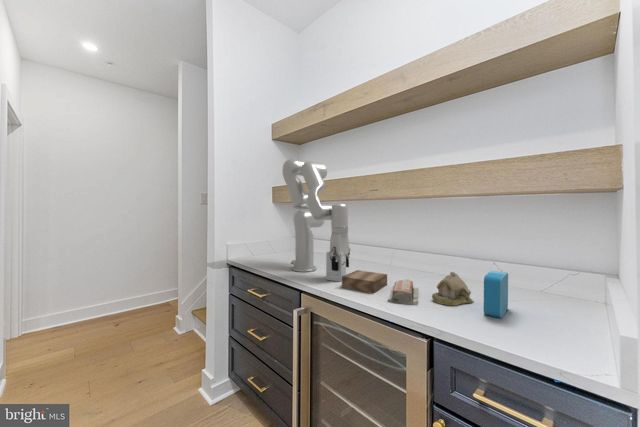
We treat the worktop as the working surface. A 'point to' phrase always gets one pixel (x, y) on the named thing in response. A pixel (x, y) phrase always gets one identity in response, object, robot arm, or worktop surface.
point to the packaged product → (404, 293)
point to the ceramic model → (452, 291)
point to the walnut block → (364, 281)
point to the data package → (495, 293)
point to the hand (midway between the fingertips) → (340, 268)
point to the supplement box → (341, 268)
